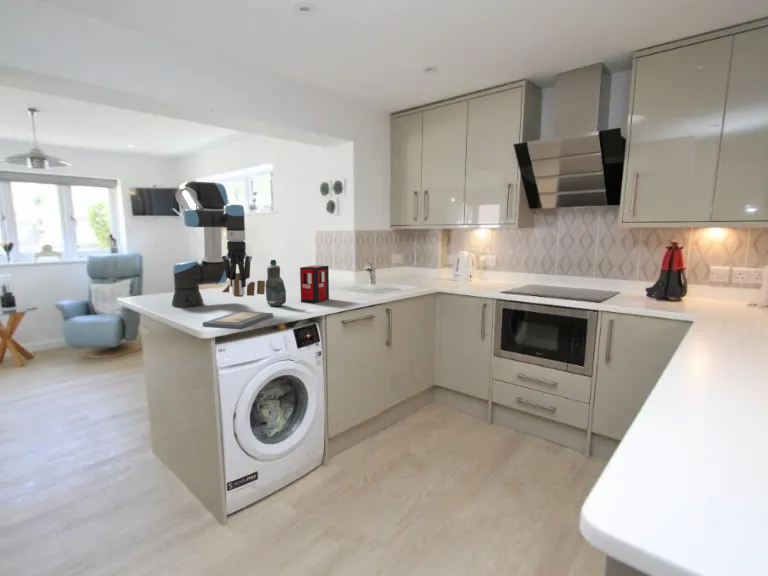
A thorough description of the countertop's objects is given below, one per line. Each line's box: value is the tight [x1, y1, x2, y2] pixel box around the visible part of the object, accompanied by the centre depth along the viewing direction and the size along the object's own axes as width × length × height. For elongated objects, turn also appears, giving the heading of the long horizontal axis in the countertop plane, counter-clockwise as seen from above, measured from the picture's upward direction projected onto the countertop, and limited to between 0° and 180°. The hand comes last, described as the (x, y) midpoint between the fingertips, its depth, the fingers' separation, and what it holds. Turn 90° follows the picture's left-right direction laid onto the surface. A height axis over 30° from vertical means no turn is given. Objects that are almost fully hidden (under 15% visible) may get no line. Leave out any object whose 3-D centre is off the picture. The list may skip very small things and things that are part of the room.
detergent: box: [265, 259, 287, 307], centre depth 214 cm, size 13×7×25 cm, turn 67°
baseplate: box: [202, 310, 274, 330], centre depth 177 cm, size 18×26×2 cm
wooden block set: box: [221, 272, 266, 298], centre depth 179 cm, size 18×9×10 cm, turn 112°
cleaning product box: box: [299, 265, 330, 304], centre depth 232 cm, size 16×9×20 cm, turn 159°
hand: (238, 294), depth 176 cm, fingers closed on wooden block set, 3 cm apart
